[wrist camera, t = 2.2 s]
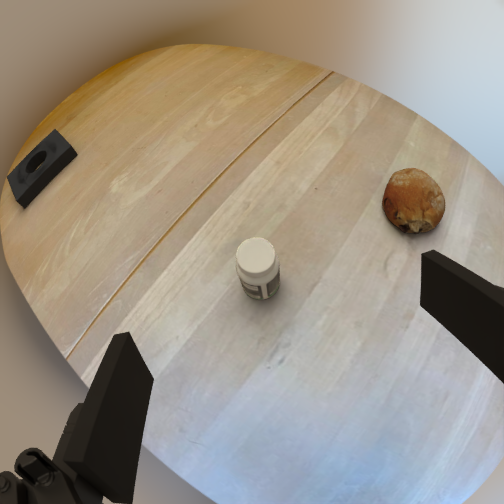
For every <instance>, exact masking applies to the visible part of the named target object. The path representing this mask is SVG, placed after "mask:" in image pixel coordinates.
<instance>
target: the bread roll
mask: <svg viewBox="0 0 504 504" xmlns="http://www.w3.org/2000/svg"><path fill="white" fill-rule="evenodd" d="M382 205H383V208H384V211H385V213H386V215H387V217H388V218H389V220H390V221H391V222H392V223H393V224H395V225H396V226H397V227H399V228H400V229H401V230H402V231H403V232H404V233H405V232H407V233H414V234H417V233H419V232H427V231H429V230H431V229H434V228H435V227H436V225H438V224H439V222H440V220H441V219H442V217H443V214H444V211H445V198H444V196H443V193H442V191H441V189H440V187H439V186H438V184H437V183H436V182H435V180H434V179H433V178H432V177H430V176H429V175H428V174H427V173H425V172H424V171H422V170H419V169H416V168H408V169H403V170H400V171H397V172H395V173H394V174H393V175H392V176H391V178H390V180H389V182H388V184H387V186H386V189H385V193H384V196H383V201H382Z"/></svg>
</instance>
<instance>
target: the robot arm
mask: <svg viewBox="0 0 504 504" xmlns="http://www.w3.org/2000/svg"><path fill="white" fill-rule="evenodd" d="M420 306H421V307H422V308H424V309H425V310H426V311H427V312H428V313H429V314H430V315H432V316H433V317H434V318H435V319H436V320H437V321H438V322H439V323H441V324H442V325H443V326H444V327H445V328H446V329H447V330H448V331H449V332H451V333H452V334H453V335H454V336H455V337H456V338H457V339H458V340H459V341H460V342H461V343H462V344H464V345H465V346H466V347H467V348H468V349H469V350H470V351H471V352H472V353H473V354H474V355H475V356H476V357H477V358H478V359H479V360H480V361H481V362H482V363H483V364H484V365H486V366H487V367H488V368H489V369H490V370H491V371H492V372H493V373H494V374H495V375H496V376H497V377H498V378H499V379H500V380H501V381H502V382H503V383H504V288H502V287H499V286H496V285H493V284H492V283H490V282H488V281H487V280H485V279H483V278H482V277H480V276H479V275H477V274H475V273H474V272H472V271H470V270H469V269H467V268H465V267H463V266H462V265H460V264H458V263H457V262H455V261H453V260H451V259H450V258H448V257H446V256H444V255H442V254H441V253H439V252H437V251H435V250H431V251H428V252H425V253H422V254H421V296H420ZM153 381H154V378H153V376H152V375H151V373H150V371H149V369H148V367H147V366H146V364H145V362H144V360H143V358H142V356H141V354H140V352H139V350H138V348H137V346H136V345H135V343H134V341H133V339H132V337H131V334H130V332H125V333H120V334H115V335H114V336H113V338H112V340H111V342H110V344H109V346H108V349H107V351H106V353H105V355H104V357H103V359H102V362H101V364H100V366H99V368H98V371H97V373H96V375H95V377H94V380H93V382H92V384H91V387H90V389H89V392H88V394H87V396H86V399H85V401H84V403H79V404H78V405H77V406H76V407H75V408H74V410H73V411H72V412H71V413H70V416H69V418H68V421H67V426H65V428H64V431H63V433H64V434H62V436H61V438H60V441H59V443H58V446H57V449H56V452H55V454H54V457H53V460H52V461H51V460H50V459H49V458H48V457H47V456H46V455H45V454H44V453H43V452H42V451H41V450H39V449H38V448H29V449H26V450H24V451H23V452H22V453H21V454H20V455H19V456H18V458H17V459H16V462H15V465H14V468H15V472H16V473H17V474H18V475H19V476H20V477H22V478H23V479H18V477H16V476H15V475H14V474H13V473H11V472H9V471H4V472H2V473H0V504H103V503H102V500H103V496H105V497H106V498H107V499H109V500H110V501H111V502H113V503H122V504H132V502H133V494H134V486H135V480H136V473H137V467H138V461H139V455H140V449H141V443H142V437H143V432H144V426H145V421H146V415H147V410H148V405H149V400H150V395H151V391H152V386H153Z"/></svg>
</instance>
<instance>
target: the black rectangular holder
mask: <svg viewBox="0 0 504 504" xmlns="http://www.w3.org/2000/svg"><path fill="white" fill-rule="evenodd" d="M77 155H78V154H77V153H76V152H75V150H74V149H73V147H72V146H71V145H70V144H69V143H68V142H67V141H66V140H65V139H64V138H63V136H62V135H61V134H60V133H59V132H58V131H57V130H56V129H54V130H53V131H52V132H51V133H50V134H49V135H48V136H47V137H46V138H44V139H43V140H42V141H41V142H40V143H39V144H38V145H37V146H36V147H35V148H34V149H33V150H32V151H31V152H30V153H29V154H28V155H27V156H26V157H25V158H24V159H23V160H22V161H21V162H20V163H19V164H18V165H17V166H16V168H15V169H14V170H13V171H12V172H11V173H10V174H9V175H8V176H7V179H8V181H9V184H10V186H11V189H12V191H13V194H14V196H15V199H16V201H17V202H18V203H19V204H20V205H21V206H22V207H23V208H26V207H27V205H28V204H29V203H30V202H31V201H32V200H33V199H34V198H35V197H36V196H37V194H38V193H39V192H40V191H41V190H42V189H43V188H44V187H45V186H46V185H47V184H48V183H49V182H50V181H51V180H52V179H53V178H54V177H55V176H56V175H57V174H58V173H59V172H60V171H61V170H62V169H63V168H64V167H65V166H66V165H67V164H68V163H69V162H70V161H72V160H73V159H74V158H75V157H76V156H77ZM43 161H44V162H43ZM42 162H43V164H42V165H41V166H40V167H39V168H38V169H37V170H36V171H35V169H36V168H37V166H38V165H39V164H40V163H42Z"/></svg>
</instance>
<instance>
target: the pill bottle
mask: <svg viewBox="0 0 504 504" xmlns="http://www.w3.org/2000/svg"><path fill="white" fill-rule="evenodd" d="M236 271H237V274H238V276H239V279H240V282H241V284H242V287H243V289H244V291H245V292H246V293H247V295H249V296H250V297H252V298H254V299H259V300H261V299H267V298H269V297H271V296H272V295H273V294H274V293H275V292H276V291H277V289H278V287H279V282H280V277H279V276H280V274H279V259H278V256H277V254H276V252H275V249H274V247H273V246H272V244H271V243H270V242H269V241H267V240H266V239H263V238H259V237H254V238H249V239H247V240H245V241H244V242H242V243H241V244H240V246H239V247H238V249H237V252H236Z"/></svg>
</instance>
